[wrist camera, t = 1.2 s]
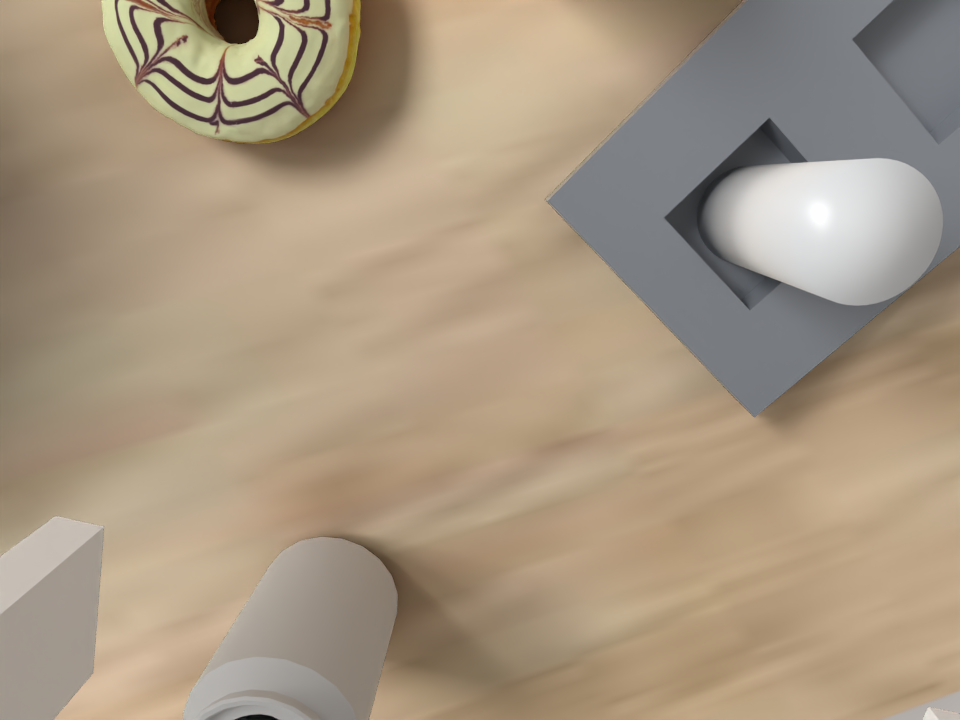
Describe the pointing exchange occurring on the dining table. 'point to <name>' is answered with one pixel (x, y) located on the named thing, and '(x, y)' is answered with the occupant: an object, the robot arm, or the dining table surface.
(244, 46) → the decorated donut
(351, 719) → the can
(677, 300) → the housing
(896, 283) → the white rounded peg
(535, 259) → the dining table surface
